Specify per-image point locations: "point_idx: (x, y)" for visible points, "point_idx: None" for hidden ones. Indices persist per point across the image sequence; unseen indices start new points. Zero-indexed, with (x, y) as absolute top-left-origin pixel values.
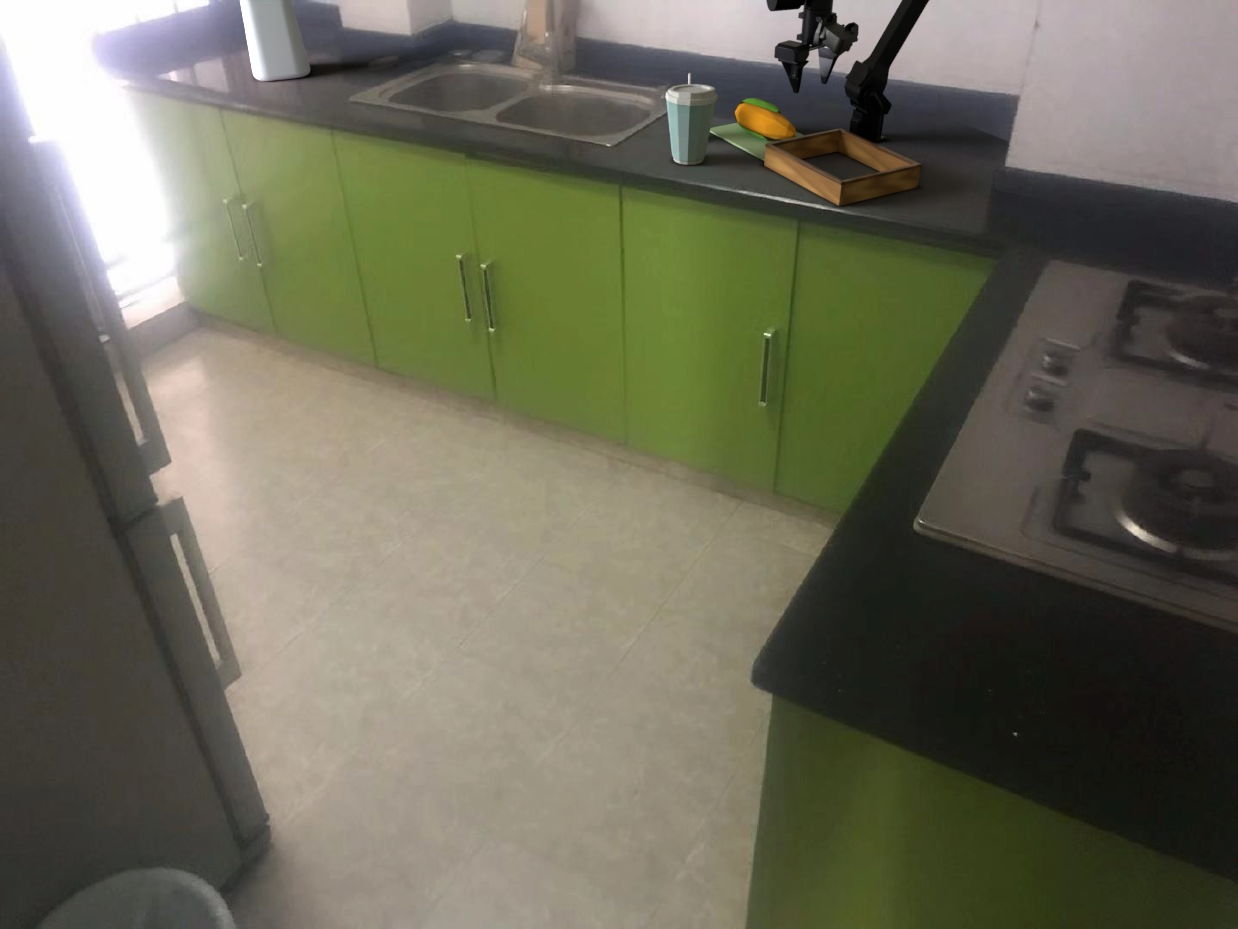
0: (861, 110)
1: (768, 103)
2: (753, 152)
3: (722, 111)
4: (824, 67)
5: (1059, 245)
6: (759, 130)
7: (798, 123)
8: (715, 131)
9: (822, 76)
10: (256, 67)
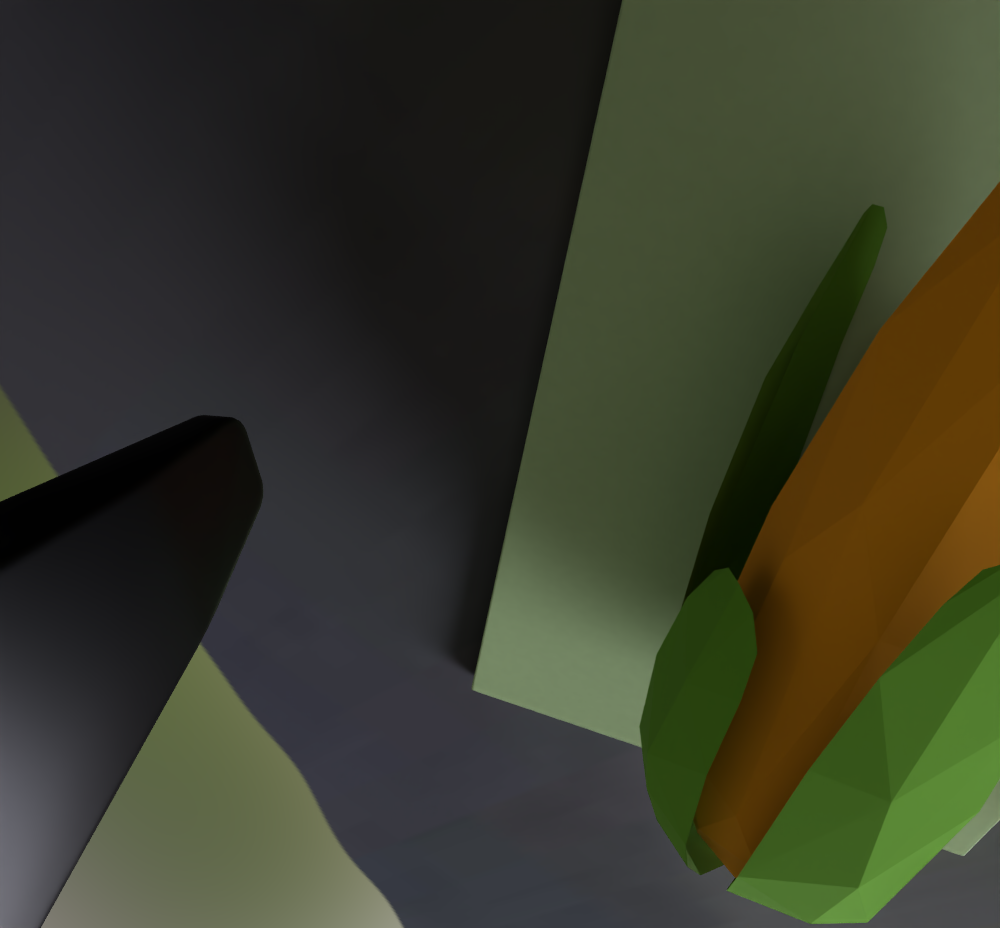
0: None
1: (892, 751)
2: None
3: (571, 876)
4: (46, 721)
5: None
6: None
7: (354, 493)
8: (991, 802)
9: (194, 579)
10: None
